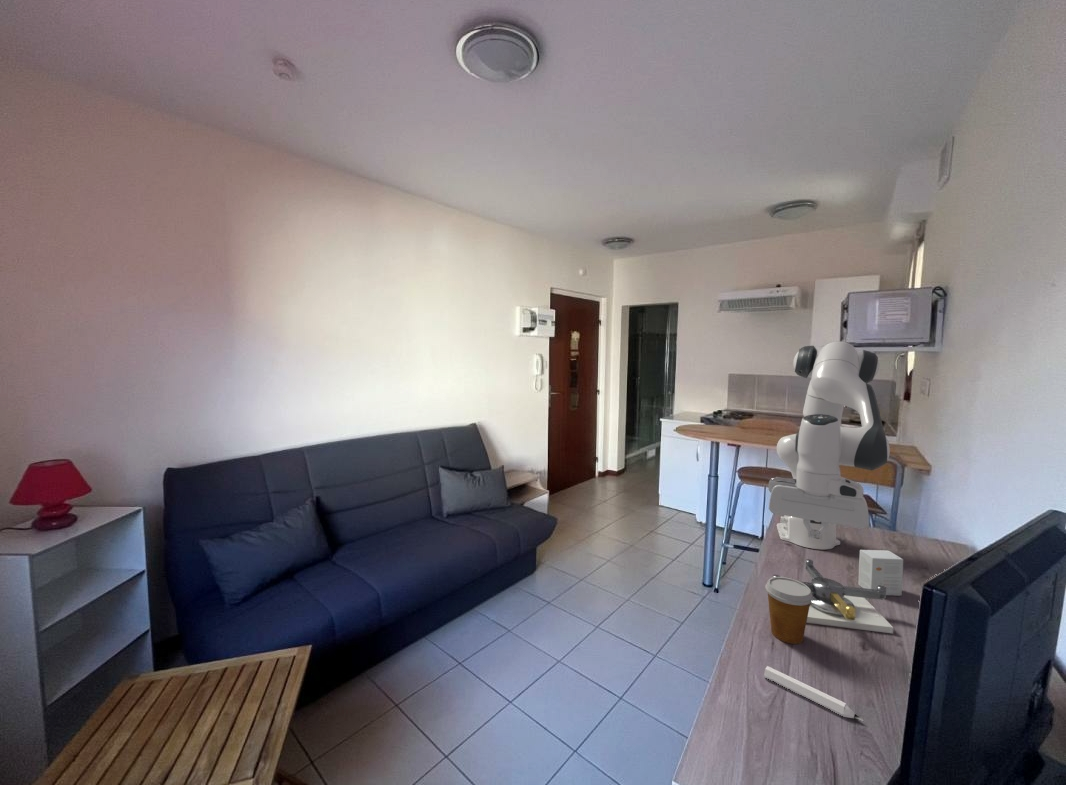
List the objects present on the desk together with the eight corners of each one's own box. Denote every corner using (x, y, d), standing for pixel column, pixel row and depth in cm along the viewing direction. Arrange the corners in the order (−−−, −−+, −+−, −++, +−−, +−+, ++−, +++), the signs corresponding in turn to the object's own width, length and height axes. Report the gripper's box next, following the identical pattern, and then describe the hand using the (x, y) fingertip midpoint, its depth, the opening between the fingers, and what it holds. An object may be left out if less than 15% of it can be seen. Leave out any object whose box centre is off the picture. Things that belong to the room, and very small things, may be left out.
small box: (887, 585, 121) (889, 550, 120) (902, 596, 116) (904, 559, 115) (857, 584, 122) (859, 549, 121) (870, 595, 116) (872, 557, 116)
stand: (774, 584, 122) (775, 572, 122) (854, 593, 117) (855, 580, 117) (798, 621, 104) (798, 607, 104) (893, 633, 100) (893, 618, 99)
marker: (863, 730, 75) (765, 680, 86) (865, 718, 76) (768, 671, 87) (862, 722, 74) (763, 673, 85) (865, 710, 75) (766, 663, 86)
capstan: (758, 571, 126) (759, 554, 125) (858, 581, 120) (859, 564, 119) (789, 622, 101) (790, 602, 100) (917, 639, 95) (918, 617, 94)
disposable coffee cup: (819, 651, 94) (821, 599, 93) (772, 646, 95) (774, 594, 95) (800, 625, 103) (802, 577, 102) (758, 621, 105) (759, 574, 104)
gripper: (767, 478, 106) (765, 532, 107) (871, 492, 94) (868, 553, 95) (770, 472, 111) (768, 524, 112) (869, 485, 99) (866, 543, 100)
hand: (815, 537), depth 103 cm, fingers closed
